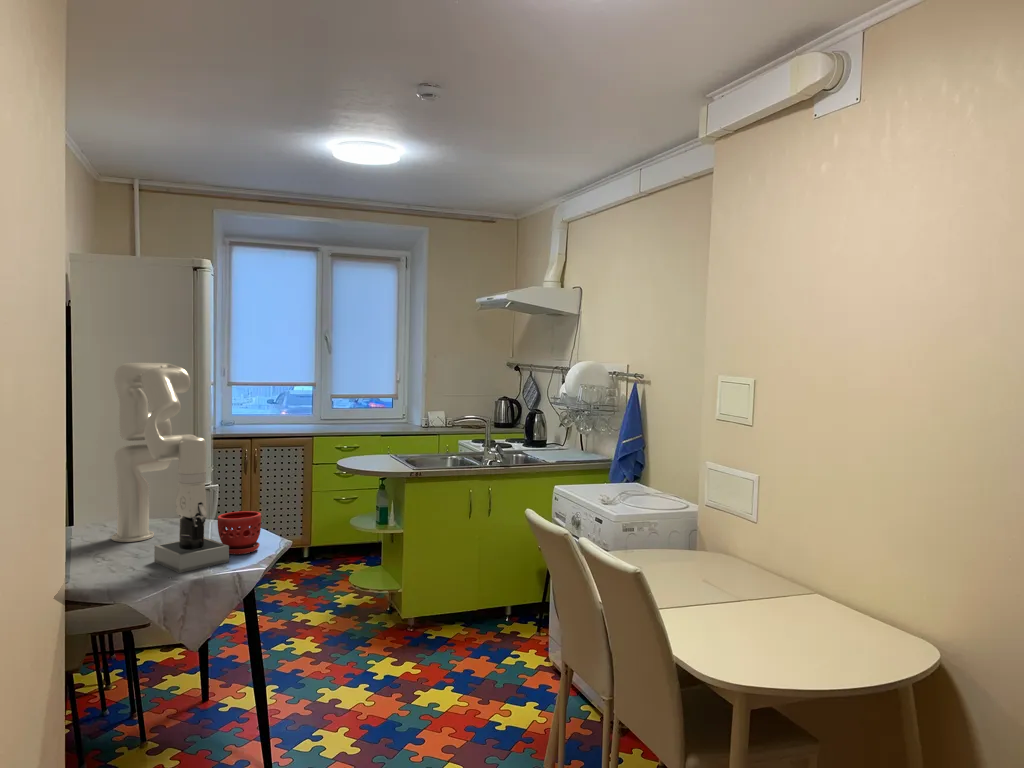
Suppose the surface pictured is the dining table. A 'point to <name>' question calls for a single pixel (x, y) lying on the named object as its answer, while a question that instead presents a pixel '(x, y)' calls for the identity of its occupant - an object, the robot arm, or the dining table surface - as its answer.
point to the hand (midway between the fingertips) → (191, 536)
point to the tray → (191, 555)
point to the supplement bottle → (188, 535)
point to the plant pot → (240, 531)
